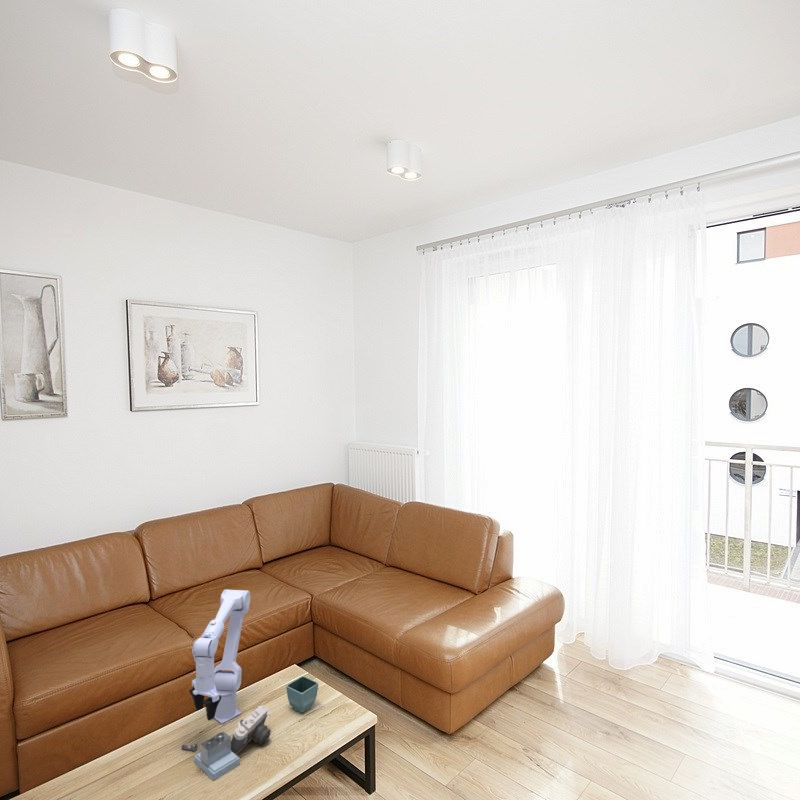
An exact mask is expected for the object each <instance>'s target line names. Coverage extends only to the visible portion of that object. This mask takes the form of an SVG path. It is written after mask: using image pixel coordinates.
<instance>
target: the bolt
mask: <svg viewBox="0 0 800 800" xmlns="http://www.w3.org/2000/svg"><path fill="white" fill-rule="evenodd" d="M181 750H186V751H192V752H196V751H197V750H198V744H197V743H193V745H188V744H182V745H181Z"/></svg>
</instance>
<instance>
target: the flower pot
mask: <svg viewBox="0 0 800 800" xmlns="http://www.w3.org/2000/svg"><path fill="white" fill-rule="evenodd" d="M285 688H286V697H287V701H288V703H289V705H290V707H292V709H293V710H295V711H297V712H299V713H301V714H303V713H304V712H306V711H307V710H309V709H311V708H312V706H313V705H314V703H315V702H316V699H317V696H318V695H317V694H318V689H319V682H317V681H315V680H313V679H311V678H308V677H306V676H305V675H302V676H299V677H298V678H296V679H295V680H293V681H291V682H289V683H288V684H286V686H285Z"/></svg>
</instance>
